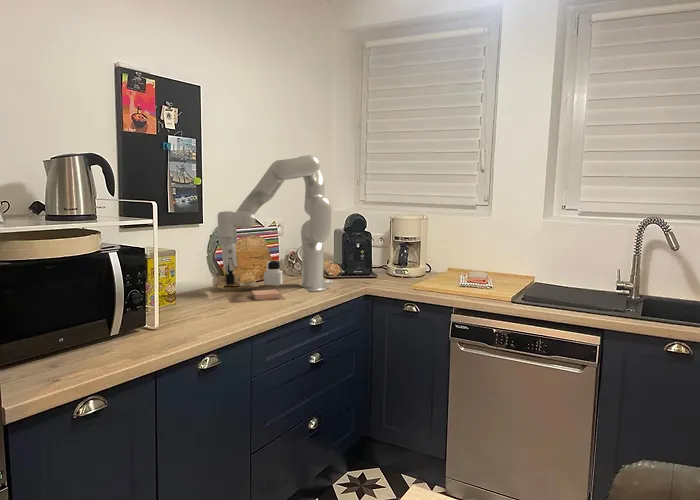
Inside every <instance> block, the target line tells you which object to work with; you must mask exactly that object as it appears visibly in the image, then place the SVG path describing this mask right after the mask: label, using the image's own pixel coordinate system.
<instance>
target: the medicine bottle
mask: <svg viewBox="0 0 700 500" xmlns="http://www.w3.org/2000/svg"><path fill="white" fill-rule="evenodd" d="M280 268H281V263H280V261H278V260H269V261H267V262H266V268H265V269H266V271H264V273H263V286H277V287H279V286H280V285H282V284H283V270H280Z"/></svg>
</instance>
